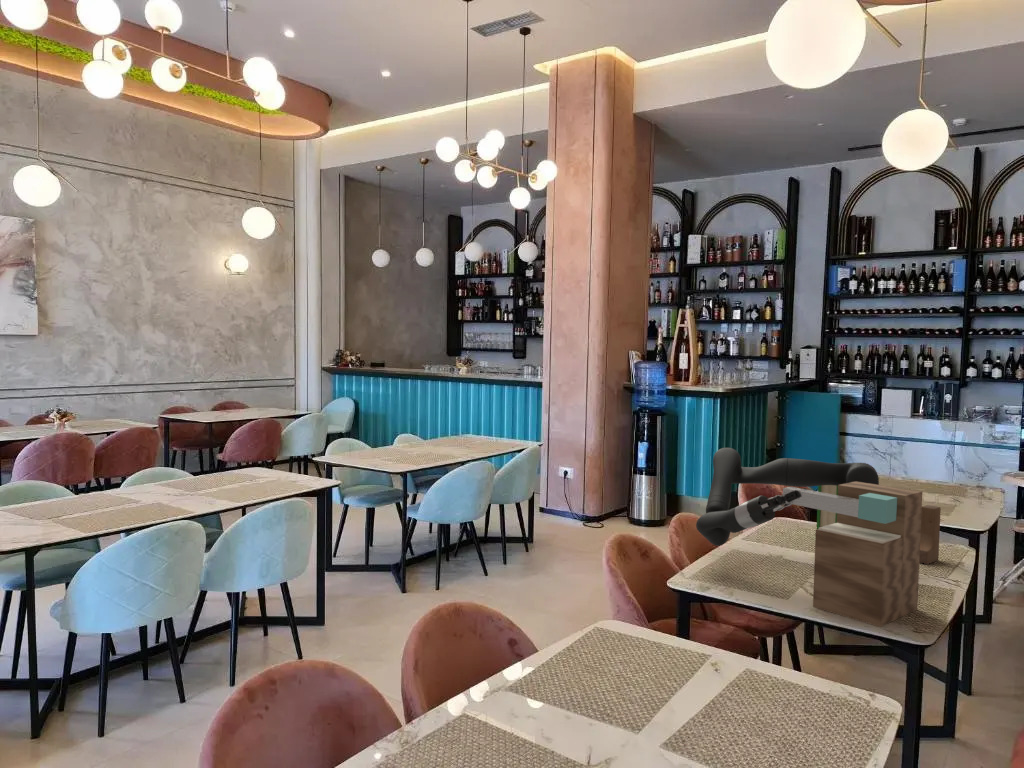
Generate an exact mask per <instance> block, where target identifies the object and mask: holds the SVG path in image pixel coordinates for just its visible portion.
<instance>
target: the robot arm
mask: <svg viewBox="0 0 1024 768" xmlns="http://www.w3.org/2000/svg"><path fill="white" fill-rule="evenodd" d="M712 464H713V465H712V467H713V474H712V481H711V485H710V490H709V494H708V497H707V498H708V499H707V503H706V507H705V513H704V514H702V515H701V516H699V518H698V519H697V520H696V523H695V527H696V530H697V531H698V532H699V533H700V534H701V536H703V537H704V538H705V539H706V540H707V541H708V542H709V543H710V544H712V545H713V546H716V547H720V546H723V545H725V544H726V543H727V542H728V540H729V538H730V535H731V533H732V534H734V533H736V534H737V533H739V532H741V531H744V530H747V529H751V528H754V527H757V526H759V525H762V524H765V523H767V522H770V521H772V520H774V519H775V517H776V511H777V512H778V511H781V510H783V509H784V508H786V507H790V506H792V505H793V504H789V503H788V501H789V502H790V501H792V500H795V499H797V498H800V494H799V491H798V490H795V491H792V492H790V493H788V494H786V495H785V494H783V493H782V494H781V495H780V494H778V495H775V496H773V497H771V496H770V497H767V496H766V495H759V496H757V497H754V498H752V499H748V500H747V501H745V502H743V503H741V504H739V505H737V506H735V507H733V508H730V507H731V499H732V485H733V484H734V485H735V484H736V485H737V484H739V485H741V484H744V485H745V484H746V485H747V484H750V485H751V484H754V485H755V484H756V485H758V484H761V485H776V486H784V487H795V488H803V489H806V490H808V489H807V488H809V487H818V486H822V485H836V486H838V485H840V484H845V483H850V482H855V481H857V482H863V483H870V484H876V485H880V477H879V475H878V472H877V470H876V469H875V467H873V465H871V464H869V463H866V462H847V463H846V462H841V463H839V462H835V463H834V462H826V461H818V460H812V459H811V460H810V459H801V458H790V457H789V458H786V457H783V458H777V459H775V460H772V461H770V462H768V463H765V464H763V465H759V466H755V467H754V466H753V467H750V466H747V467H746V466H742V459H741V455H740V453H739V452H738V451H737V450H736V449H735V448H731V447H722V448H720V449H717V451H716V452H715V453H714V455H713V458H712Z"/></svg>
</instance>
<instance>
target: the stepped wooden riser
mask: <svg viewBox="0 0 1024 768" xmlns="http://www.w3.org/2000/svg"><path fill="white" fill-rule="evenodd" d="M867 493H873V494H879V495H885V496H891V497H896V498H897V511H896V521H893V522H890V523H887V524H884V523H879V522H874V521H869V520H864V519H859V518H858V517H853V516H848V515H844V514H839V513H837V523H834V524H830V525H827V526H823V527H819V529H817V528H816V529H815V541H814V545H815V546H814V568H813V571H814V572H813V596H812V597H813V599H812V607H813V608H817V609H820V610H824V611H827V612H830V613H834V614H837V615H839V616H843V617H846V618H849V619H853V620H856V621H859V622H863V623H865V624H866V623H867V624H870V625H872V626H876V627H879V628H881V627H883V626H885V625H888V624H890V623H892V622H894V621H896V620H898V619H900V618H902V617H905V616H907V615H910V614H911V613H913V612H915V611H917V610H918V603H919V602H918V600H919V583H920V581H919V578H920V576H919V575H920V563H919V559H920V536H921V513H922V506H923V491H921V490H914V489H908V488H902V487H894V486H888V485H882V484H879V485H876V484H870V483H863V482H857V481H855V482H850V483H845V484H840V485H838V495H839V496H844V497H850V498H855V499H859V495H863V494H867Z"/></svg>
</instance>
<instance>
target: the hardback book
mask: <svg viewBox="0 0 1024 768" xmlns="http://www.w3.org/2000/svg"><path fill="white" fill-rule="evenodd" d="M817 492H822V493H828V494H833V495H838V486H836V485H822V486H817ZM834 523H837V513H834V512H829V511H824V510H819V509H816V530H817V529H819V527H823V526H827V525H830V524H834Z"/></svg>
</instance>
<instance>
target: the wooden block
mask: <svg viewBox="0 0 1024 768" xmlns="http://www.w3.org/2000/svg"><path fill="white" fill-rule="evenodd" d="M941 510H942V509H941V507H940V506H937V505H936V506H935V505H929V504H927V505H922V513H921V536H920V559H919V564H921V563H924V564H923V565H926V564H927V565H929V563H930V564H932V563H934V562H937V561H939V555H940V554H939V553H940V535H941V534H940V531H941V530H940V529H941Z"/></svg>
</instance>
